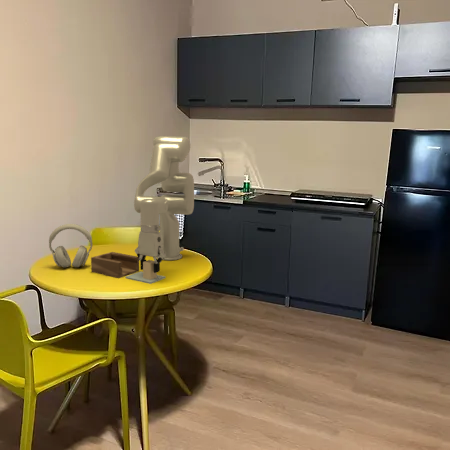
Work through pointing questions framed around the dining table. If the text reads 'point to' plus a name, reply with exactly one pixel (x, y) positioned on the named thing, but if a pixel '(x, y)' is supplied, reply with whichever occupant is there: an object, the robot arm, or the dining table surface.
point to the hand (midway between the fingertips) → (150, 270)
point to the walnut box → (115, 264)
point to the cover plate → (140, 278)
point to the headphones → (61, 253)
